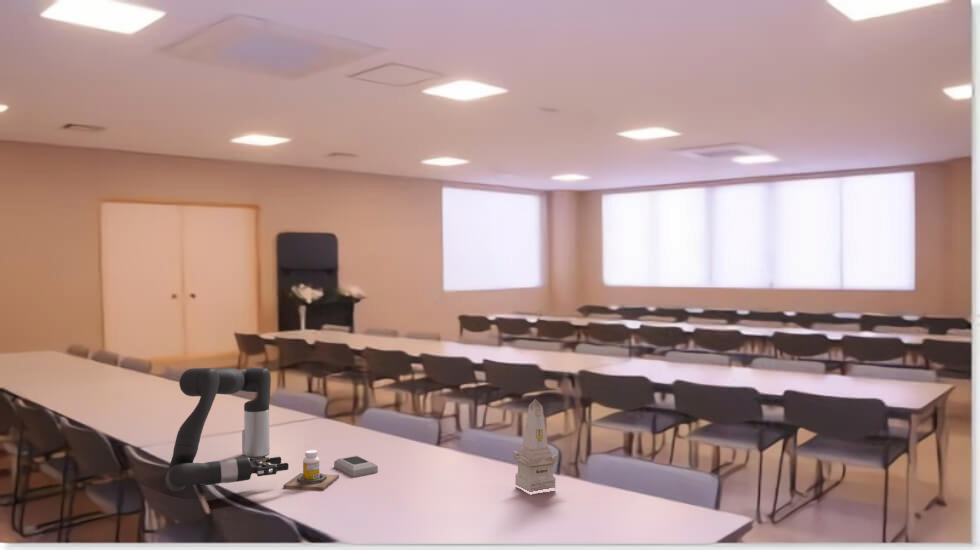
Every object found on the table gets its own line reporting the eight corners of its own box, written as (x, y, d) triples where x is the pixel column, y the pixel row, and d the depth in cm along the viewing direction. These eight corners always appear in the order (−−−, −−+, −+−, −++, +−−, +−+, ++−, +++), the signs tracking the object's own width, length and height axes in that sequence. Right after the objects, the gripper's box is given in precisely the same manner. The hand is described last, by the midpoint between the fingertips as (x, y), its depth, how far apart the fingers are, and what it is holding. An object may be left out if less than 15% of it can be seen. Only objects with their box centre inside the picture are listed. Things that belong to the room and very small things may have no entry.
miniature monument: (529, 496, 243) (530, 402, 242) (513, 487, 252) (513, 397, 251) (557, 491, 247) (557, 400, 246) (540, 482, 257) (540, 394, 256)
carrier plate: (283, 488, 250) (283, 482, 250) (300, 475, 264) (300, 470, 264) (323, 490, 248) (323, 484, 248) (339, 477, 261) (339, 472, 261)
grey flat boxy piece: (353, 467, 263) (334, 458, 275) (353, 478, 263) (334, 468, 275) (377, 462, 268) (357, 453, 280) (377, 473, 269) (357, 463, 280)
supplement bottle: (304, 477, 258) (304, 449, 258) (320, 477, 258) (320, 449, 258) (301, 482, 253) (301, 453, 252) (318, 482, 253) (318, 453, 253)
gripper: (239, 463, 236) (290, 456, 244) (228, 453, 248) (278, 447, 257) (239, 487, 236) (290, 479, 245) (229, 476, 248) (278, 469, 257)
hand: (284, 463), depth 251 cm, fingers open, 8 cm apart
